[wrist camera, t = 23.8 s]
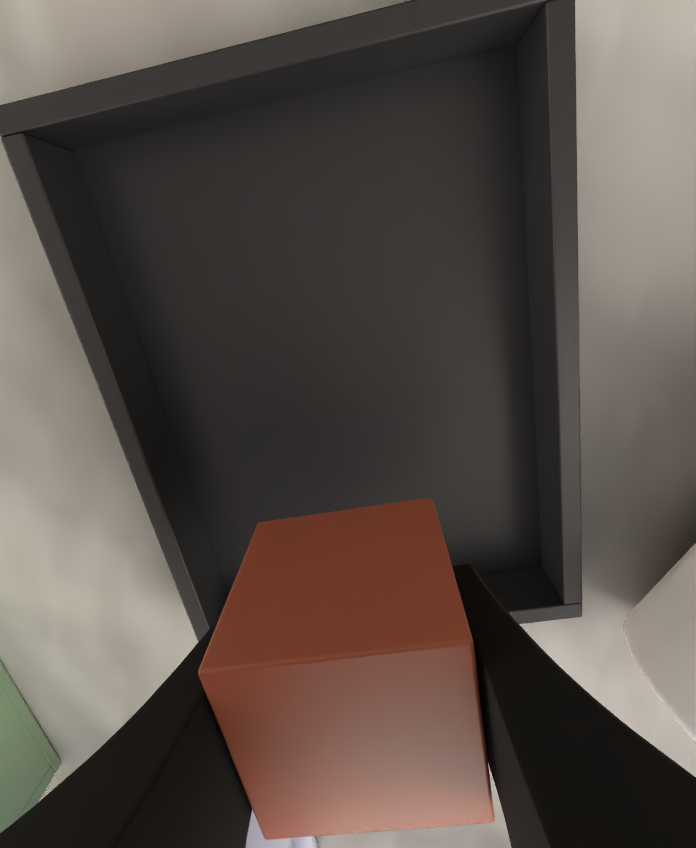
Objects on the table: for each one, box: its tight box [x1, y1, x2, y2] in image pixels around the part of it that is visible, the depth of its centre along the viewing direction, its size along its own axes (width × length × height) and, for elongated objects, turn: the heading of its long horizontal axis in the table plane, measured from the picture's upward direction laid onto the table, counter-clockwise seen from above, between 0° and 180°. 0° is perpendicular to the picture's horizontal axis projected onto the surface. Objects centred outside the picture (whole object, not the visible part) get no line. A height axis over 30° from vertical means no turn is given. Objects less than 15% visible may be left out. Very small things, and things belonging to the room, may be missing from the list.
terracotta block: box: [198, 497, 494, 840], centre depth 10 cm, size 4×4×4 cm
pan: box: [0, 0, 582, 642], centre depth 14 cm, size 17×13×2 cm
